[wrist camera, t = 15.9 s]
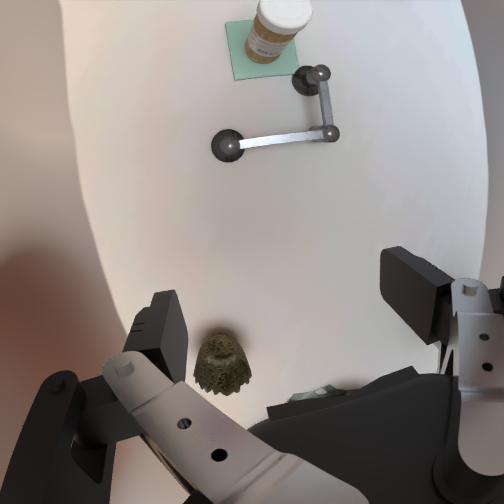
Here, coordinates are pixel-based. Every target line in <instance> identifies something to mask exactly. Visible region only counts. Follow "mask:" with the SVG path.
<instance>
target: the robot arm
mask: <svg viewBox="0 0 504 504" xmlns="http://www.w3.org/2000/svg"><path fill="white" fill-rule="evenodd" d="M380 291H381V295H382V297H383V299H384V300H385V301H386V302H387V303H388V304H389V305H390V306H391V308H392V309H393V310H394V311H395V312H396V313H397V314H398V315H399V316H400V317H401V318H402V319H403V320H404V321H405V322H406V323H407V324H408V325H409V326H410V327H411V329H412V330H413V331H414V332H415V333H416V334H417V335H418V336H419V337H420V338H421V339H422V340H423V341H424V343H425V344H426V345H429V344H432V343H433V344H434V345H435V346H436V347H437V348H438V349H439V354H438V367H437V374H434V373H428V374H418V373H417V371H416V370H415V369H414V368H413V366H409V367H407V368H404V369H401V370H399V371H396V372H393V373H390V374H387V375H385V376H382V377H380V378H378V379H376V380H375V381H373V382H371V383H369V384H368V385H366V386H364V387H363V388H361V389H359V390H357V391H355V392H354V393H352V394H350V395H346V396H337V397H324V398H308V399H302V400H298V401H294V402H289V403H285V404H280V405H275V406H270V407H267V412H268V417H269V418H268V419H266V420H263V421H261V422H259V423H257V424H255V425H254V426H252V427H250V428H249V429H247V430H246V429H244V428H243V427H242V426H240V425H239V424H237V423H236V422H235V421H233V420H232V419H231V418H229V417H228V416H227V415H225V414H224V413H223V412H221V411H220V410H219V409H217V408H216V407H215V406H214V405H212V404H211V403H210V402H208V401H207V400H206V399H205V398H203V397H202V396H201V395H200V394H199V393H197V392H196V391H195V390H194V389H192V388H191V387H190V386H189V385H188V384H186V383H185V375H186V362H187V350H188V332H187V327H186V324H185V320H184V317H183V314H182V310H181V307H180V304H179V300H178V297H177V294H176V291H175V290H168V291H162V292H156V293H154V296H153V299H152V302H151V305H150V307H144V308H143V309H142V310H141V311H140V312H139V313H138V314H137V315H136V316H135V319H134V322H133V326H132V327H131V330H130V333H129V335H128V338H127V340H126V343H125V346H124V349H123V352H122V353H119V354H117V355H115V356H113V357H112V358H110V359H109V360H108V361H107V362H106V363H105V365H104V366H103V369H102V375H101V376H98V377H95V378H91V379H88V380H85V381H81V382H80V380H79V379H78V377H77V375H76V374H75V373H74V372H72V371H68V370H64V371H59V372H56V373H54V374H52V375H51V376H49V377H48V378H46V379H45V381H44V382H43V383H42V385H41V386H40V389H39V391H38V393H37V395H36V397H35V399H34V402H33V404H32V406H31V409H30V411H29V413H28V416H27V418H26V420H25V423H24V425H23V428H22V430H21V433H20V435H19V438H18V441H17V443H16V446H15V448H14V451H13V454H12V457H11V459H10V463H9V465H8V468H7V472H6V475H5V477H4V481H3V484H2V487H1V491H0V504H109V501H110V491H111V481H112V472H113V464H114V456H115V449H116V442H118V441H121V440H125V439H128V438H131V437H135V436H138V435H139V436H140V437H141V439H142V440H143V441H144V442H145V444H146V445H147V446H148V448H149V449H150V450H151V451H152V452H153V454H154V455H155V456H156V457H157V458H158V459H159V461H160V462H161V463H162V464H163V465H164V466H165V468H166V469H167V470H168V471H169V472H170V473H171V474H172V476H173V477H174V478H175V479H176V480H177V482H178V483H179V484H180V485H181V486H182V487H183V488H184V489H185V490H186V492H187V493H188V494H189V495H190V496H189V497H188V499H187V500H186V501H185V502H184V503H183V504H504V276H503V277H502V280H501V285H500V288H497V289H489V290H488V289H487V287H486V285H485V284H483V283H482V282H480V281H478V280H475V279H471V278H461V279H457V280H455V279H453V278H452V277H450V276H449V275H447V274H446V273H445V272H443V271H442V270H440V269H438V268H437V267H436V266H434V265H432V264H431V263H430V262H428V261H427V260H425V259H424V258H421V257H418V256H415V255H413V254H412V253H410V252H409V251H407V250H406V249H404V248H403V247H401V246H396V247H392V248H387V249H383V250H382V252H381V256H380ZM72 440H73V443H72ZM71 444H72V447H71Z"/></svg>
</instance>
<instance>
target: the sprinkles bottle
mask: <svg viewBox="0 0 504 504" xmlns="http://www.w3.org/2000/svg"><path fill="white" fill-rule="evenodd" d="M312 15H313V7H312V4H311V2H310V0H260V1H259V3H258V6H257V14H256V16H255V18H254V21H253V24H252V27H251V29H250V32H249V35H248V38H247V40H246V42H245V51H246V54H247V55H248V57H249V58H250V59H252V60H253V61H255V62H257V63H262V64H267V63H271V62H274V61H275V60H277V59H278V58H279V56H280V54H281V52H282V51H283V50H284V49H285V48H286V47H287V45H288V44H289V43H290V42H291V41H292V39H293V38H294V37H295V35H296V34H297V33H298V32H299V31H301V30H302V29H303V28H304V27H305V26H306V25H307V24H308V22H309V21H310V20H311V18H312Z"/></svg>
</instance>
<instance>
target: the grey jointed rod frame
mask: <svg viewBox="0 0 504 504" xmlns="http://www.w3.org/2000/svg"><path fill="white" fill-rule="evenodd" d="M298 71H299V72H298ZM297 73H298V74H297ZM330 76H331V72H330V70H329V68H328V67H327V66H325V65H317V66H315V67H312V66H302V67H300V68H298V69H297V70H296V72H295V73H294V74H293V77H292V83H293V86H294V88H295V89H296V90H297V91H298V92H299V93H300V94H302V95H305V96H313V95H316V94H318V93H319V98H320V105H321V112H322V119H323V126H314V127H312V128H310V129H309V131H308V132H299V133H290V134H281V135H273V136H266V137H259V138H252V139H245V140H244V138H243V137H242V135H241V134H240V133H239V132H237V131H235V130H231V129H226V130H222V131H220V132H219V133H217V134H216V135H215V137H214V138H213V140H212V145H211V147H212V152H213V154H214V155H215V157H216V158H218V159H219V160H221V161H223V162H233V161H236V160H238V159H239V158H240V157H241V156H242V155H243V153H244V150H245V148H249V147H256V146H263V145H270V144H277V143H285V142H293V141H302V140H312V141H314V142H336V141H337V140H338V139H339V136H340V132H339V129H338V128H337V127H336V126H334V122H333V115H332V108H331V101H330V95H329V89H328V83H327V80H328V79H329V78H330Z"/></svg>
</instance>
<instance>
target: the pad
mask: <svg viewBox="0 0 504 504" xmlns="http://www.w3.org/2000/svg"><path fill="white" fill-rule="evenodd" d="M253 21H254V20H245V21H235V22H226V23H225V26H226V32H227V38H228V44H229V50H230V56H231V62H232V68H233V74H234V80H243V79H251V78H260V77H270V76H281V75H293V74H294V73H295V72H296V70H297V69H298V68H299V64H298V59H297V54H296V48H295V43H294V38H293V39H292V41H291V42H290V43H289V44H288V45H287V47H286V48H285V49H284V50H283V51H282V52H281V54H280V56H279V58H278V59H277V60H275V61H274V62H271V63H267V64H262V63H257V62H255V61H253V60H252V59H250V58H249V57H248V55H247V54H246V51H245V42H246V40H247V38H248V35H249V32H250V29H251V27H252V24H253ZM298 72H299V71H298ZM297 74H298V73H297Z"/></svg>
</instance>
